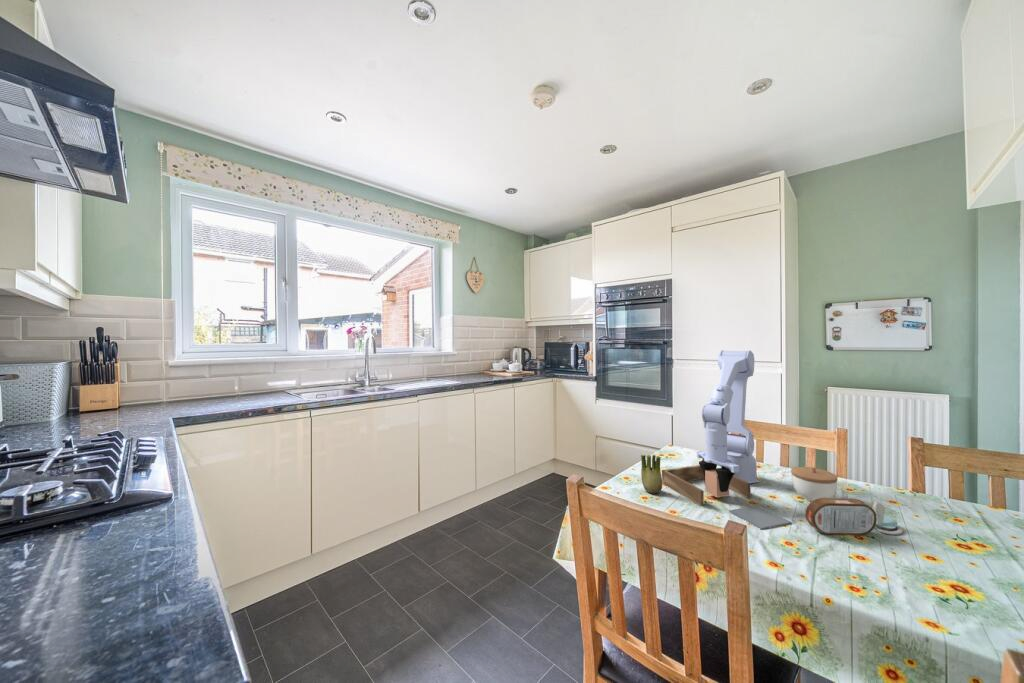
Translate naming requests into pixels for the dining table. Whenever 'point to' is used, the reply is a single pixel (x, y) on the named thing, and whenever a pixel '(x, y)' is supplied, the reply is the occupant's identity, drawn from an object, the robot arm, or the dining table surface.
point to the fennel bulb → (651, 474)
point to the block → (713, 484)
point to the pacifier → (885, 521)
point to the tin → (841, 516)
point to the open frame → (678, 483)
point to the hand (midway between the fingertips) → (717, 487)
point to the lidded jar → (814, 483)
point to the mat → (760, 517)
